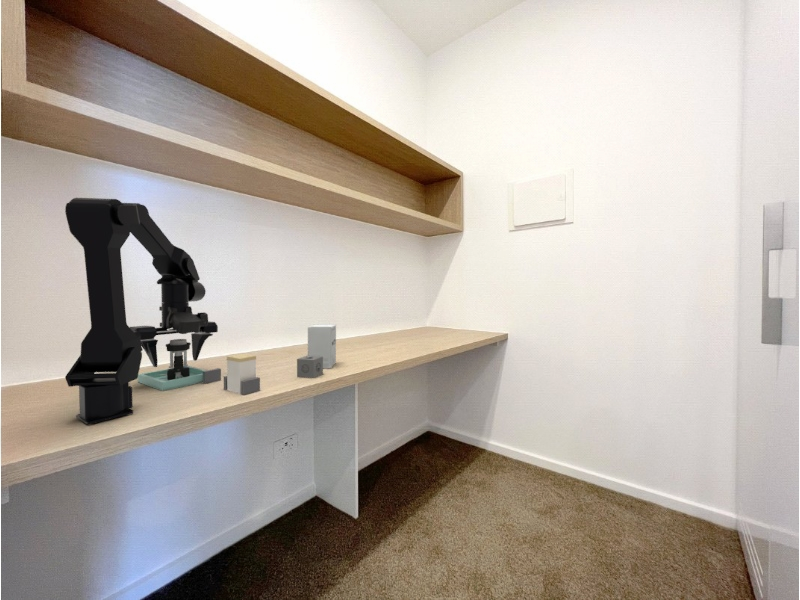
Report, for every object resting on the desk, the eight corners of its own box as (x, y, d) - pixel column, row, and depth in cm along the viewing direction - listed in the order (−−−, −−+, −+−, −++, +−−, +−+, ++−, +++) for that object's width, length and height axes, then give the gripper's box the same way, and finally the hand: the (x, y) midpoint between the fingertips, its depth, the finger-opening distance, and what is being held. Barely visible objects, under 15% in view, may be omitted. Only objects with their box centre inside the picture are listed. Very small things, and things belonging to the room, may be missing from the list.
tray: (163, 391, 76) (162, 382, 76) (137, 382, 83) (137, 374, 83) (213, 379, 86) (213, 372, 85) (187, 372, 93) (187, 365, 93)
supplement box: (331, 368, 98) (331, 326, 98) (306, 368, 98) (306, 326, 98) (336, 363, 105) (336, 324, 105) (313, 363, 105) (313, 324, 105)
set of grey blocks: (243, 395, 73) (243, 381, 73) (202, 383, 82) (202, 371, 82) (259, 390, 76) (259, 377, 76) (218, 379, 86) (218, 368, 85)
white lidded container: (239, 394, 74) (239, 358, 74) (226, 390, 76) (226, 356, 76) (256, 389, 77) (256, 355, 77) (243, 386, 80) (243, 353, 80)
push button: (158, 383, 80) (157, 342, 80) (160, 378, 84) (160, 339, 84) (190, 379, 83) (190, 340, 83) (191, 375, 88) (190, 337, 88)
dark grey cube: (297, 377, 89) (297, 358, 88) (307, 372, 93) (307, 355, 93) (313, 378, 87) (313, 360, 87) (322, 374, 92) (322, 356, 92)
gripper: (145, 304, 71) (147, 375, 72) (229, 302, 87) (229, 360, 88) (125, 303, 77) (126, 369, 78) (206, 301, 93) (207, 356, 94)
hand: (176, 363), depth 84 cm, fingers open, 9 cm apart
